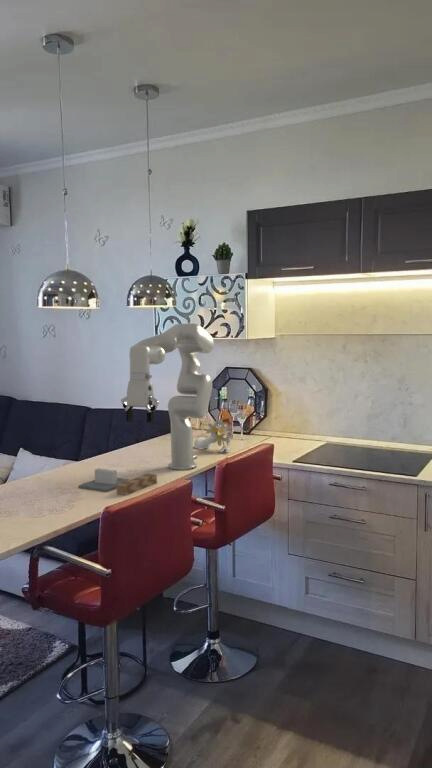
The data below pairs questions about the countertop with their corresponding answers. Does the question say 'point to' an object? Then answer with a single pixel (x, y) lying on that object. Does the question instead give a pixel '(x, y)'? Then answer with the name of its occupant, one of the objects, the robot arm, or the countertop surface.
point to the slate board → (101, 485)
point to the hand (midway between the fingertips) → (139, 421)
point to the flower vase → (215, 436)
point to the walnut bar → (136, 484)
